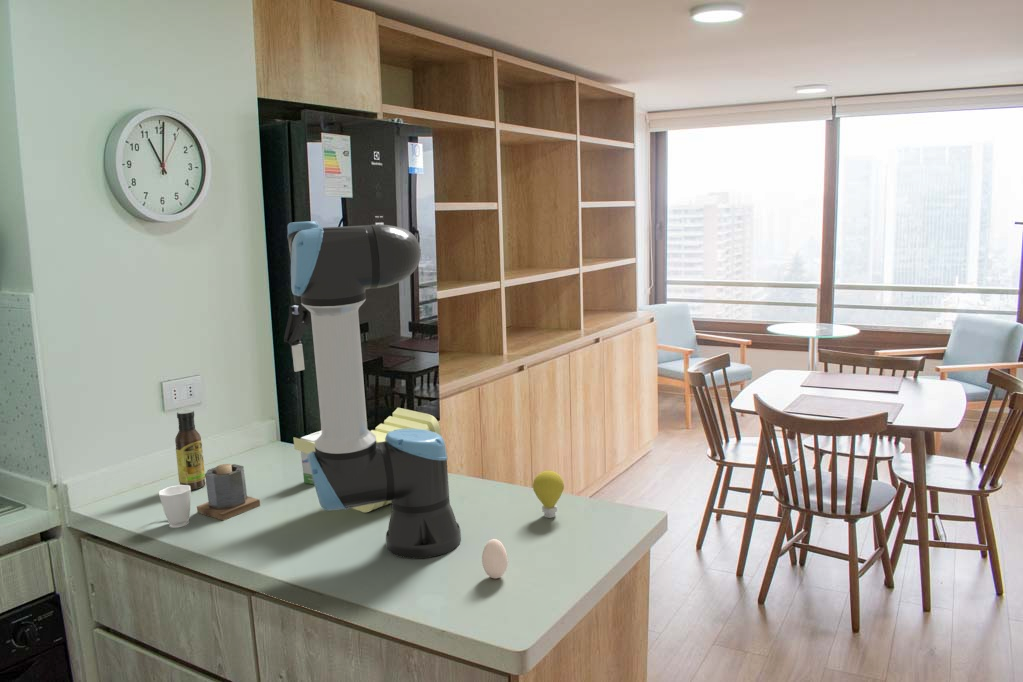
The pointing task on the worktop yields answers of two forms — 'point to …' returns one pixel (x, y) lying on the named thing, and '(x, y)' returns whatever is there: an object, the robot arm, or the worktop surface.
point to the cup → (176, 504)
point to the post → (227, 513)
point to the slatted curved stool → (398, 421)
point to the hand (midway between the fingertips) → (317, 372)
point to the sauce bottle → (189, 452)
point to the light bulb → (548, 491)
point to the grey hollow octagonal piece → (226, 488)
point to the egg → (494, 559)
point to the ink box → (304, 456)
